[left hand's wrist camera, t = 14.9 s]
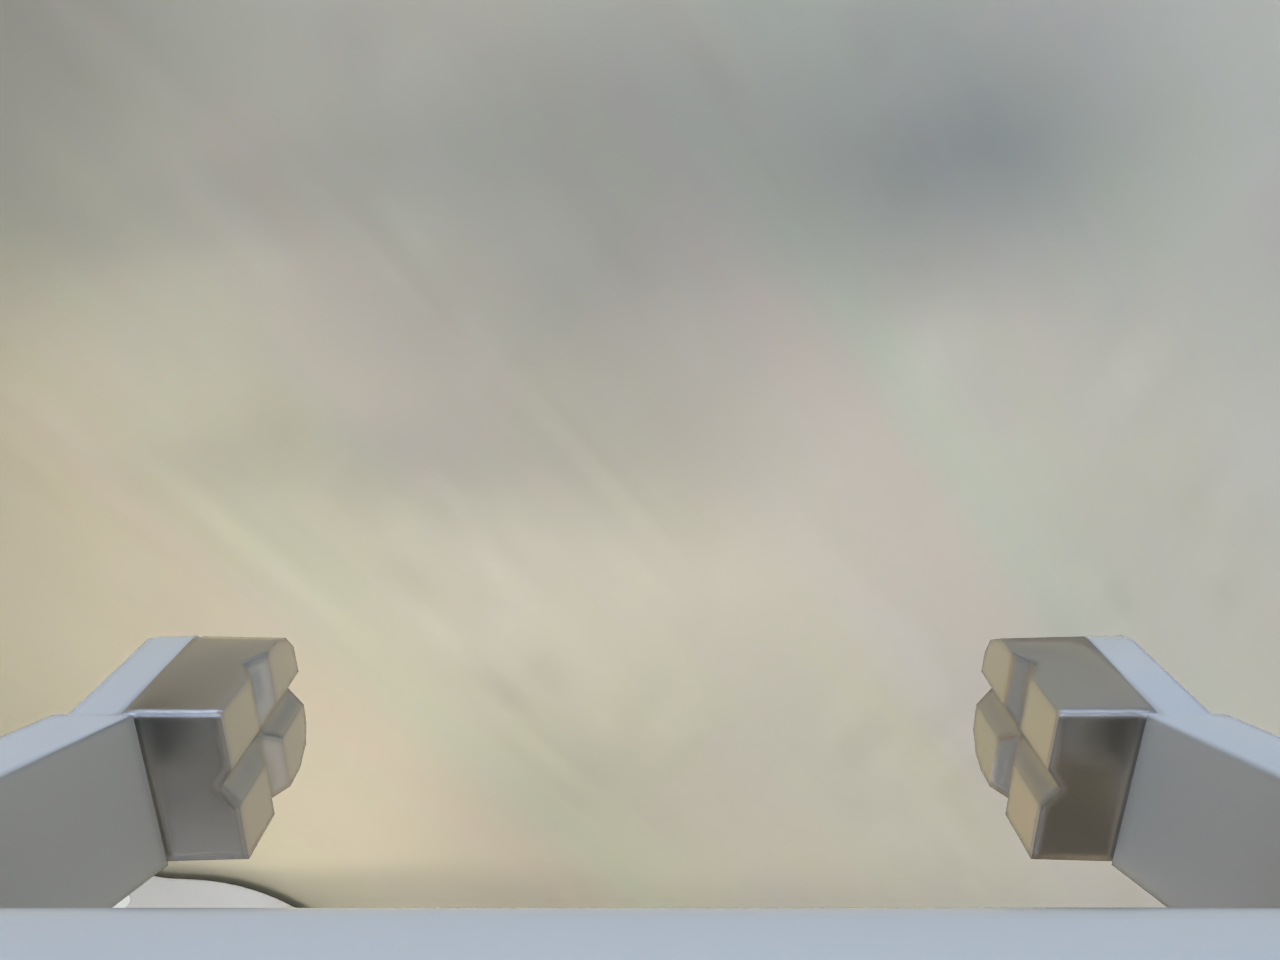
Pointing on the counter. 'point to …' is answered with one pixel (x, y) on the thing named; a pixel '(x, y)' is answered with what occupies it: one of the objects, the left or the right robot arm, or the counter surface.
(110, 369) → the counter surface
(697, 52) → the counter surface
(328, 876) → the counter surface
